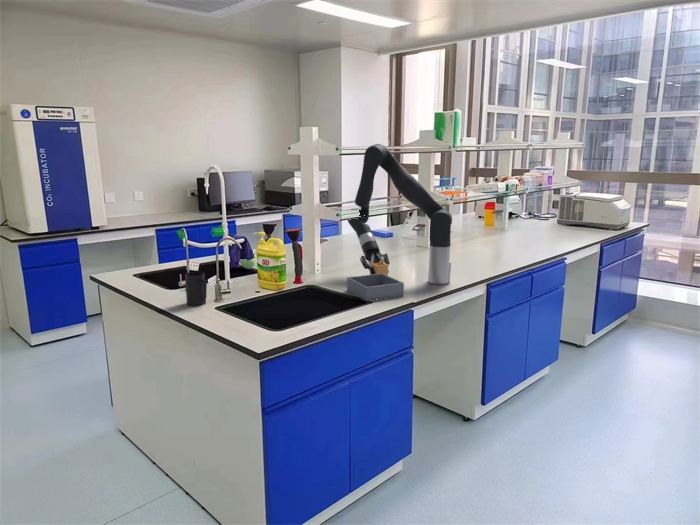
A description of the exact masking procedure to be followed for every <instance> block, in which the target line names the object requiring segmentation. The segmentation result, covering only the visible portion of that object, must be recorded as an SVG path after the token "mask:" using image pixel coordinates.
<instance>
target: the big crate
mask: <svg viewBox="0 0 700 525" xmlns="http://www.w3.org/2000/svg"><path fill="white" fill-rule="evenodd" d="M404 285H405V284H404V282H403V281H400V280H398V279H395V278H394V277H391V276H390V275H388V276H387V275H385V274H383V273H382V274H373V275H370V274H363V275H355V276H348V277H346V291H348V292H349V293H350V292H351V293H350V294H352V295H354V296H356V297H357V296H358V297H357V298H359V297H360V298H359V299H361V298H362V299H361V300H363V301H364V300H365V301H364V302H366V301H367V302H370V301H369V300H374V301H377V300H376V299H381V300H386V299H385V298H388V299H394V297H395V298H399V297H400V298H401V297H404V290H405V288H404V287H405V286H404Z"/></svg>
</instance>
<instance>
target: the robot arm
mask: <svg viewBox="0 0 700 525" xmlns="http://www.w3.org/2000/svg"><path fill="white" fill-rule="evenodd" d="M362 163H363V165H362V172H361V177H360V181H359V186H358V189H357V192H356V195H355V199H354V204H355V205H356V206H358V207H359V208H360V209H361V210H360V209H351V210H359V212H360V215H359V216H361V218H358V217H356V218H358V219H351V220H347V222H348V224H349V225H350V227H351V228H352V230H353V231H354V232H355V233H356V236H357V239H358V240H359V241H358V242H359V245H360V248H361V250H362V253H363V255H361V256H360V257H359V261H360V262H361V264H362V267H363V268H364V270H368V271H369V274H370V273H371V275H373V274H376V273H375V271H374V268H373V265H372V264H373V263H375V262H381V263H386V264H388V266H389V265H390V259H389V256H388V253H384V254H382V253H381V251H380V248H379V245H378V242H377V239H376V238H375V236H374V233H373V231H372V229H371V226H370V225H369V224H368V221H369V219H370V218H369V217H370V203H371V199H372V196H373V192H374V183H375V182H374V181H375V177H376V176H375V175H376V173H377V170H378V169H379V167H380V168H381V169H383V170H384V171H385V172H386V173H387V175H388V176H389V177H390V179H391V182H392V183H393V186H394V187H395V189H396V190H397V191H398V193H400V194H401V195H402V196H403V197H404V198H405V199H406V200H407V201H408V202H410V203H411V204H412V205H414V206H415V207H417V208H418V209H420V210H421V211H422V212H423V213H424V214H425V216H426V217H428V219H429V255H428V256H429V257H428V272H427V274H428V276H427V282H428V283H429V284H435V285H447V284H448V283H450V282H451V272H452V271H451V269H452V262H451V261H450V255H451V233H452V232H451V229H452V223H453V217H452V214H451V213H450V211H448V210H447V209H445V207H443V206H442V205H440V204H439V203H438V202H437V201H436V200H435V199H434V198H433V197H432V196H431V194H429V192H428V191H427V190H426V189H425V187H423V185H422V184H421V183H420V181H418V180H417V179H416V178H415V177H414V176H413V175H412V174H411V173H410V172H409V171H408V170H407V169H406V168H405V167H404V166H403V165H401V163H400V162H399V161H398V160H397V159H396V158H395V156H394V155H393V154H392V153H391V151H390V150H389V149H388V148H387V147H386V146H385V145H384V144H381V143H374V144H372V145H370V146H368V147H367V148H366V150H365V151H364V156H363V162H362ZM364 215H365V216H364ZM367 216H369V217H367ZM362 217H363V218H362ZM388 273H389V269H388Z"/></svg>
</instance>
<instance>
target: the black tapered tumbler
mask: <svg viewBox="0 0 700 525" xmlns="http://www.w3.org/2000/svg"><path fill="white" fill-rule="evenodd" d="M184 277H185V278H184V279H185V280H184V282H185V294H186V295H185V296H186V305H187V306H189V307H200V306H203V305H206V304H207V290H208V289H207V285H208V284H207V283H208V282H207V281H208V280H206V278H205V272H203V271H189V272H186V273H185V274H184Z"/></svg>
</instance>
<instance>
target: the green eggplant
mask: <svg viewBox="0 0 700 525" xmlns="http://www.w3.org/2000/svg"><path fill="white" fill-rule="evenodd" d="M250 246H251V247H250V248H252V247H254V246H253V245H250ZM254 250H255V248H253V249H252V251H253V254H254V258H253V259H251V260H247V259H240V261H239V264H240V265H241V267H242V268H244V269H246V270H251V269H253V268H254V266H255V264H256V259H257V257H256V252H254Z"/></svg>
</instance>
